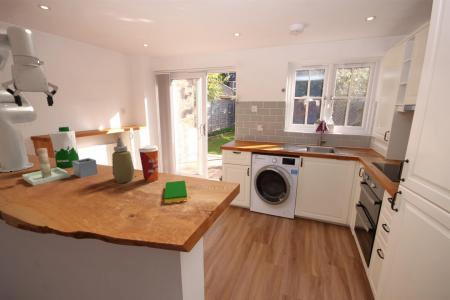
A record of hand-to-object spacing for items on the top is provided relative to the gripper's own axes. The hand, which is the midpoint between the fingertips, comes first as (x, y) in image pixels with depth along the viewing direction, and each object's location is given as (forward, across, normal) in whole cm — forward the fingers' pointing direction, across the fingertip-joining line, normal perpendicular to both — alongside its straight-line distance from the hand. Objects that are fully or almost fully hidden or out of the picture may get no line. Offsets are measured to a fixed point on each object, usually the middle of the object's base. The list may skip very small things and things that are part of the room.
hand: (36, 106), depth 84 cm
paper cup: (+31, -21, +44) cm, 58 cm away
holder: (+30, -8, +16) cm, 35 cm away
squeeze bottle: (+31, -14, +36) cm, 49 cm away
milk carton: (+31, -9, -6) cm, 32 cm away
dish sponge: (+31, -17, +63) cm, 72 cm away
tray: (+30, +3, +7) cm, 31 cm away
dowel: (+29, +3, +7) cm, 30 cm away
